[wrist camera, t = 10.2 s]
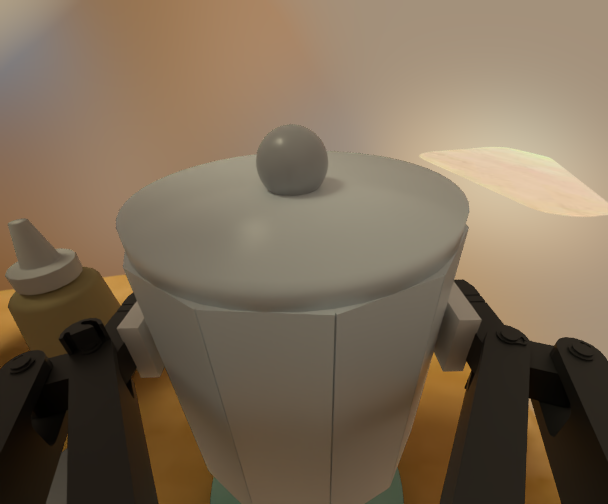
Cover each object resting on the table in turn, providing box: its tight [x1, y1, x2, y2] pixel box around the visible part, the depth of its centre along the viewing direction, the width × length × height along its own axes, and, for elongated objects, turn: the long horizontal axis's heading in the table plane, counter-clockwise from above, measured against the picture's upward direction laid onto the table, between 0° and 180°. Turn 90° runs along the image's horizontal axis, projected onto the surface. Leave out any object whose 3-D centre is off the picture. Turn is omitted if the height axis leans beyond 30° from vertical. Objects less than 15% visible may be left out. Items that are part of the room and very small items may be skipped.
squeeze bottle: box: [5, 219, 135, 376], centre depth 27 cm, size 8×8×18 cm
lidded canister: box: [116, 124, 469, 504], centre depth 13 cm, size 11×11×14 cm
